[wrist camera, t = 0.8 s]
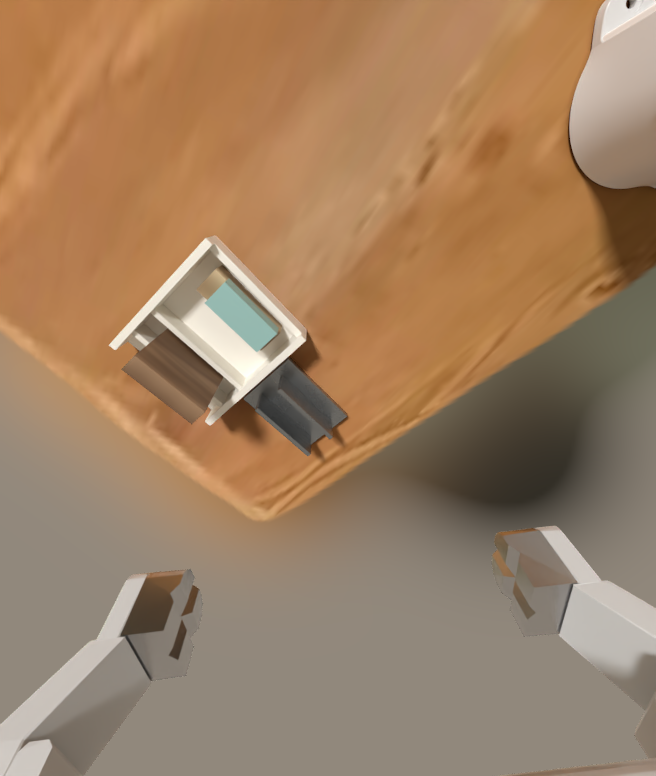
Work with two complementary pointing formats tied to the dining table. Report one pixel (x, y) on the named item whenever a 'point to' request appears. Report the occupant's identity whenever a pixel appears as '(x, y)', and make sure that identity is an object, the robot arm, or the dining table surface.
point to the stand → (295, 405)
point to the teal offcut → (242, 315)
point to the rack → (214, 325)
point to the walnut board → (175, 375)
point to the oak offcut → (223, 275)
